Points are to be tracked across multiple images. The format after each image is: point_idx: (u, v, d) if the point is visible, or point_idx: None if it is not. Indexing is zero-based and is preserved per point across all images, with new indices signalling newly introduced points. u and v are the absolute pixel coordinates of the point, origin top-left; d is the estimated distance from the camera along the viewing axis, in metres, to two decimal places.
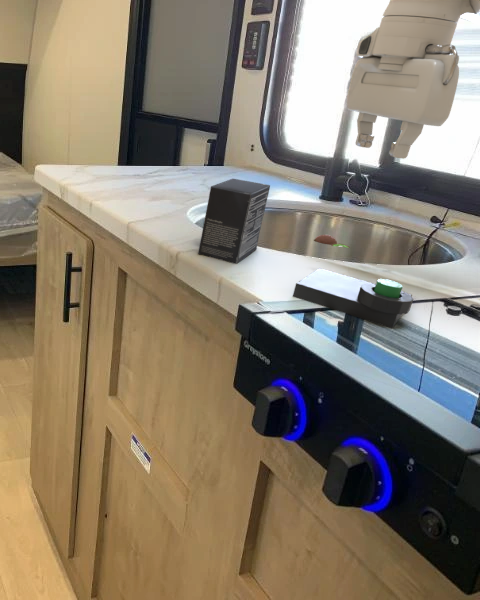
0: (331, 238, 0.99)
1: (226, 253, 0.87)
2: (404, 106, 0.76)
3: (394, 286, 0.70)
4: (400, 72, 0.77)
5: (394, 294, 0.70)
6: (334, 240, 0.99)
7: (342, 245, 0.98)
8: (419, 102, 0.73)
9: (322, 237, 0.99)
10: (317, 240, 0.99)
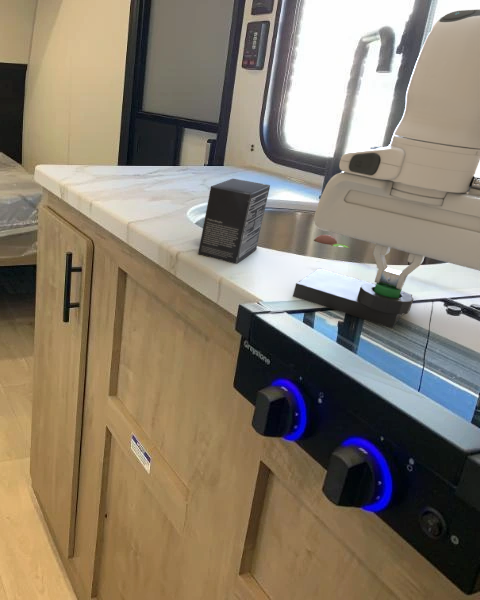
0: (331, 238, 0.99)
1: (226, 253, 0.87)
2: (461, 250, 0.64)
3: (393, 289, 0.70)
4: (439, 206, 0.64)
5: (393, 296, 0.70)
6: (334, 240, 0.99)
7: (342, 245, 0.98)
8: None
9: (322, 237, 0.99)
10: (317, 240, 0.99)
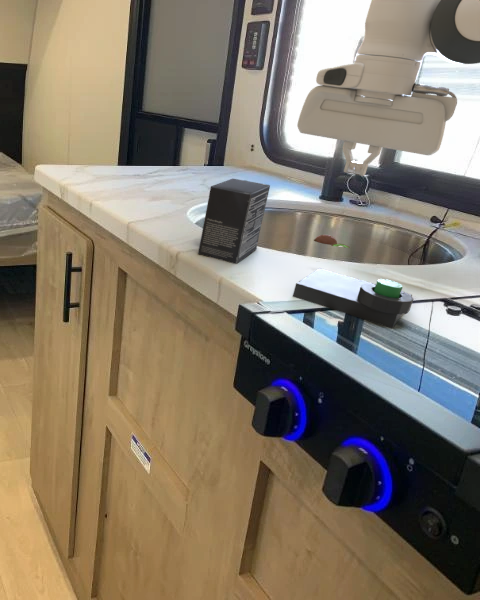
0: (331, 238, 0.99)
1: (226, 253, 0.87)
2: (406, 139, 0.86)
3: (394, 286, 0.70)
4: (390, 107, 0.86)
5: (394, 294, 0.70)
6: (334, 240, 0.99)
7: (342, 245, 0.98)
8: (430, 137, 0.84)
9: (322, 237, 0.99)
10: (317, 240, 0.99)
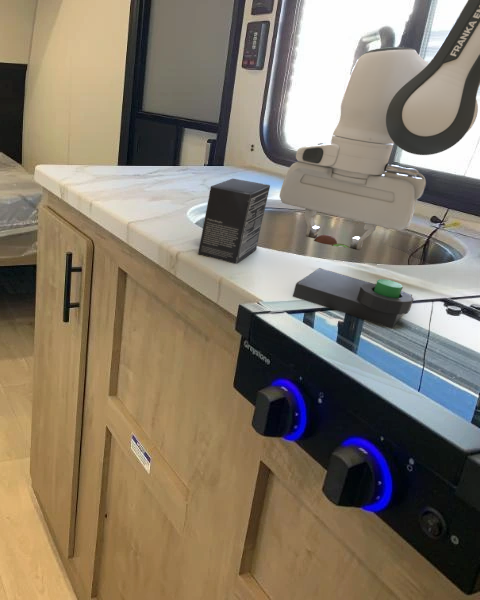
0: (331, 238, 0.99)
1: (226, 253, 0.87)
2: (379, 215, 0.92)
3: (394, 286, 0.70)
4: (364, 185, 0.92)
5: (394, 294, 0.70)
6: (334, 240, 0.99)
7: (342, 245, 0.98)
8: (401, 215, 0.90)
9: (322, 237, 0.99)
10: (317, 240, 0.99)
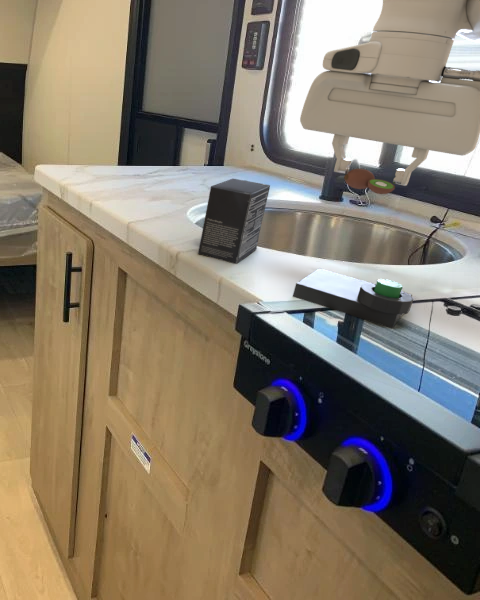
0: (368, 172, 0.76)
1: (226, 253, 0.87)
2: (434, 135, 0.70)
3: (394, 286, 0.70)
4: (414, 96, 0.70)
5: (394, 294, 0.70)
6: (371, 175, 0.77)
7: (382, 181, 0.76)
8: (465, 133, 0.68)
9: (356, 171, 0.77)
10: (349, 175, 0.77)
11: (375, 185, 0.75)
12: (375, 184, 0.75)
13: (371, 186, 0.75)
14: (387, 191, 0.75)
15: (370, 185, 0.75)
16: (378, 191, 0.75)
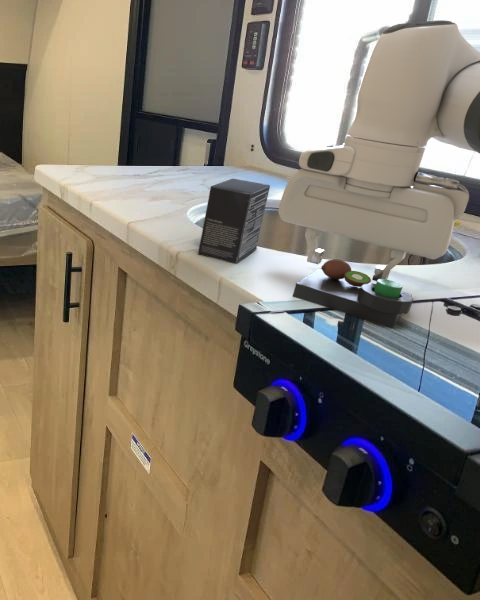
0: (344, 264, 0.78)
1: (226, 253, 0.87)
2: (407, 238, 0.71)
3: (394, 286, 0.70)
4: (387, 199, 0.71)
5: (394, 294, 0.70)
6: (348, 267, 0.78)
7: (358, 273, 0.78)
8: (436, 239, 0.69)
9: (333, 263, 0.78)
10: (326, 266, 0.78)
11: (351, 279, 0.76)
12: (351, 277, 0.77)
13: (347, 279, 0.76)
14: None
15: (346, 278, 0.77)
16: (354, 284, 0.76)
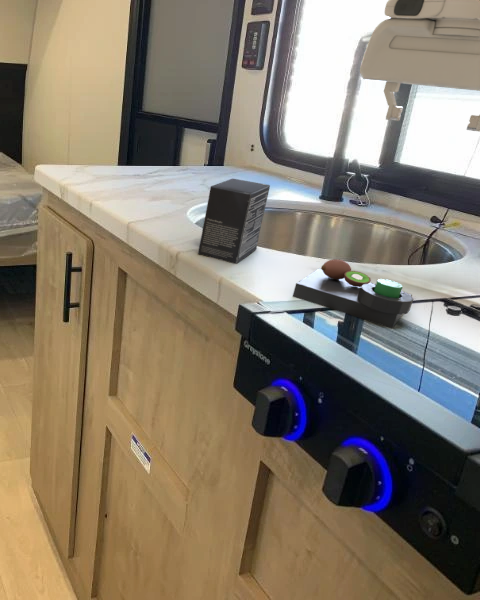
0: (344, 264, 0.78)
1: (226, 253, 0.87)
2: None
3: (394, 286, 0.70)
4: None
5: (394, 294, 0.70)
6: (348, 267, 0.78)
7: (358, 273, 0.78)
8: None
9: (333, 263, 0.78)
10: (326, 266, 0.78)
11: (351, 279, 0.76)
12: (351, 277, 0.77)
13: (347, 279, 0.76)
14: None
15: (346, 278, 0.77)
16: (354, 284, 0.76)
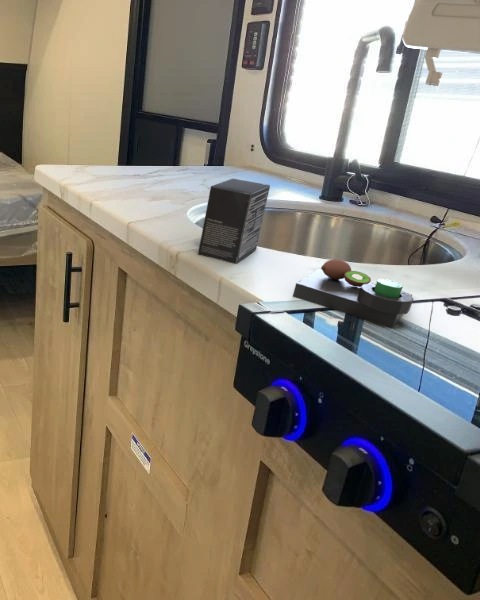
0: (344, 264, 0.78)
1: (226, 253, 0.87)
2: None
3: (394, 286, 0.70)
4: None
5: (394, 294, 0.70)
6: (348, 267, 0.78)
7: (358, 273, 0.78)
8: None
9: (333, 263, 0.78)
10: (326, 266, 0.78)
11: (351, 279, 0.76)
12: (351, 277, 0.77)
13: (347, 279, 0.76)
14: None
15: (346, 278, 0.77)
16: (354, 284, 0.76)
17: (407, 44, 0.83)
